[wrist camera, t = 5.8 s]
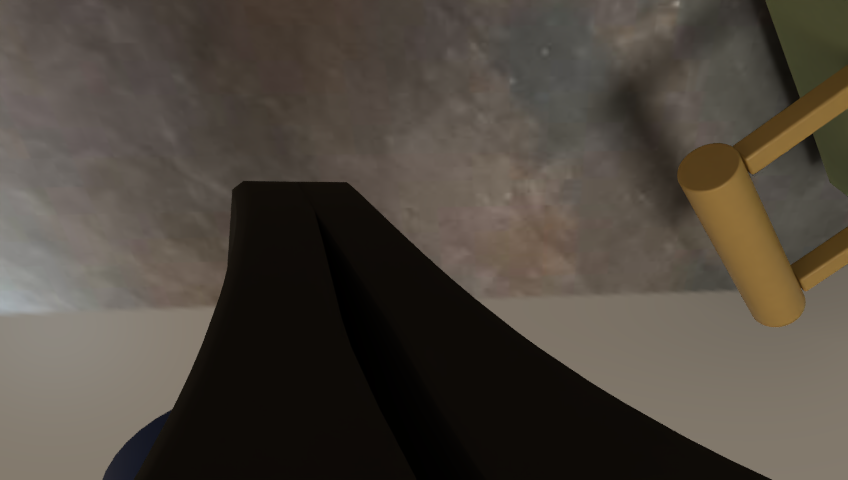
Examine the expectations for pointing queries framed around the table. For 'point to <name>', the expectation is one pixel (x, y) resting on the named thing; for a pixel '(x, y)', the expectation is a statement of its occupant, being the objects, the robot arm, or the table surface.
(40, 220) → the table surface
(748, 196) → the drawer
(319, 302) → the robot arm
